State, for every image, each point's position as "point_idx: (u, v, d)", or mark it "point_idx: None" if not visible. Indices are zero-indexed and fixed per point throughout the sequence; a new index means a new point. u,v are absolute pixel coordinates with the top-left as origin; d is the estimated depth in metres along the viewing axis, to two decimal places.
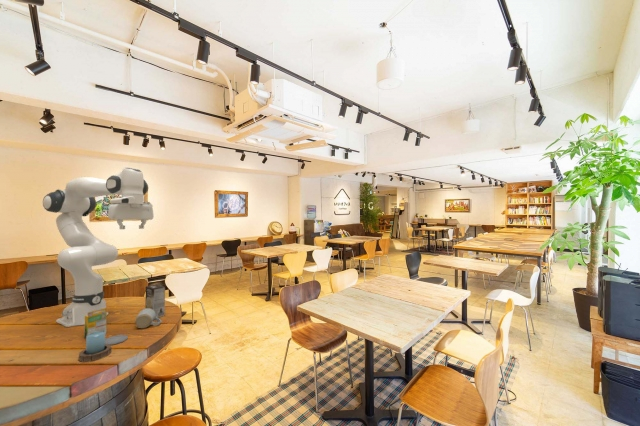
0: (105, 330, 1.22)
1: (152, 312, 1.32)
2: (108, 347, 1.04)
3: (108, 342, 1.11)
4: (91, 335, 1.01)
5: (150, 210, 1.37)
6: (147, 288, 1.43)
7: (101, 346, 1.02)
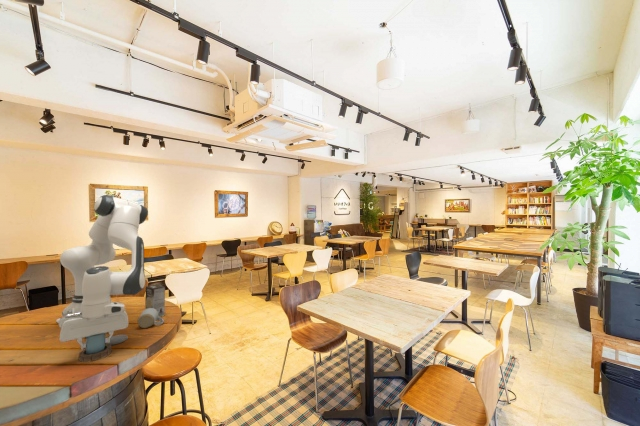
0: None
1: (155, 312, 1.33)
2: (108, 347, 1.04)
3: None
4: None
5: None
6: (147, 288, 1.43)
7: (101, 346, 1.02)
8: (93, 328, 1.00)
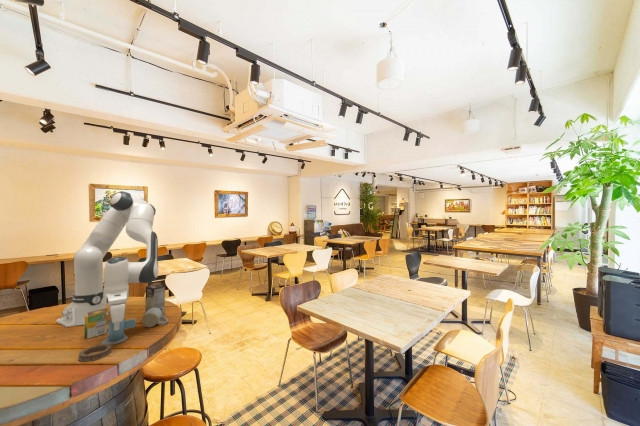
0: (105, 330, 1.22)
1: (159, 311, 1.33)
2: (108, 347, 1.04)
3: (108, 342, 1.11)
4: None
5: None
6: (147, 288, 1.43)
7: (110, 332, 1.12)
8: (110, 311, 1.14)
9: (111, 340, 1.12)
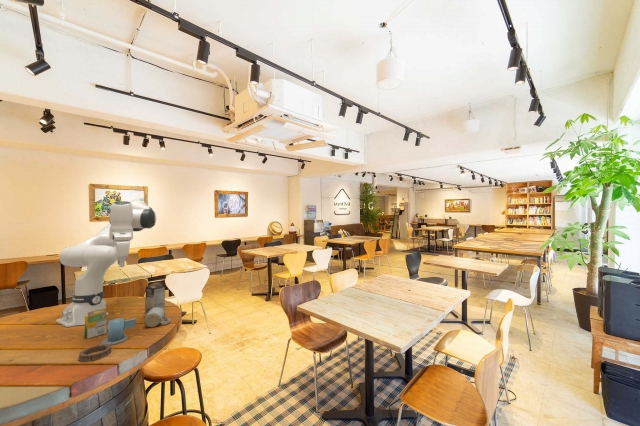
0: (105, 330, 1.22)
1: (161, 311, 1.34)
2: (108, 347, 1.04)
3: (108, 342, 1.11)
4: (115, 319, 1.16)
5: None
6: (147, 288, 1.43)
7: (110, 332, 1.12)
8: (116, 250, 1.22)
9: (111, 340, 1.12)
